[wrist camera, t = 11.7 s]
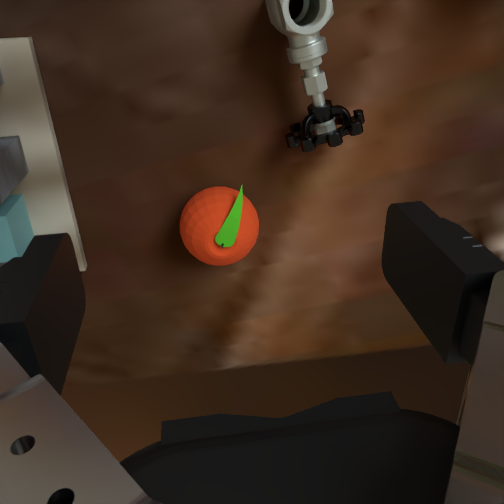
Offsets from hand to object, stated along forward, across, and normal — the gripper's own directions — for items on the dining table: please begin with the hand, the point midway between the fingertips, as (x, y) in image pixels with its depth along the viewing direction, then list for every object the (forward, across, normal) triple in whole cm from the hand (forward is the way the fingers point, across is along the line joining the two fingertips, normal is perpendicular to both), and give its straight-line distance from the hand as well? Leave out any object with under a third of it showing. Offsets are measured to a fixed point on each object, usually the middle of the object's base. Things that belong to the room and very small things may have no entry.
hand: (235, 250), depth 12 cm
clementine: (+30, -1, +12) cm, 33 cm away
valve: (+30, -8, -1) cm, 32 cm away
